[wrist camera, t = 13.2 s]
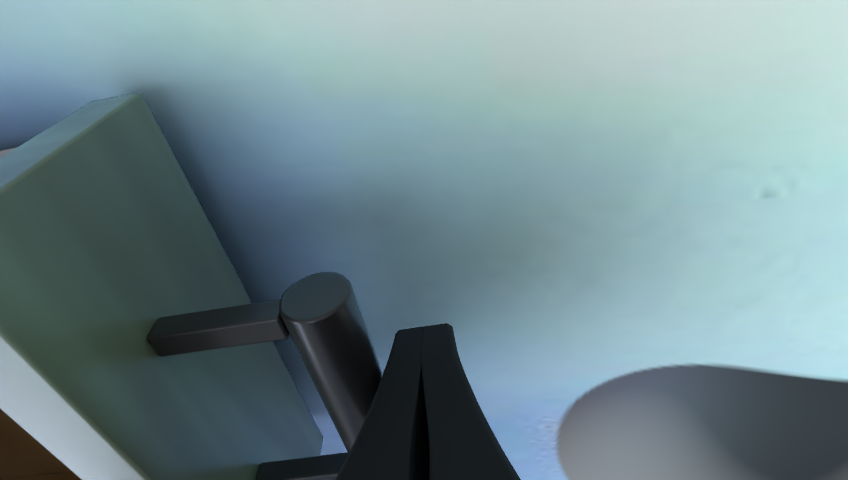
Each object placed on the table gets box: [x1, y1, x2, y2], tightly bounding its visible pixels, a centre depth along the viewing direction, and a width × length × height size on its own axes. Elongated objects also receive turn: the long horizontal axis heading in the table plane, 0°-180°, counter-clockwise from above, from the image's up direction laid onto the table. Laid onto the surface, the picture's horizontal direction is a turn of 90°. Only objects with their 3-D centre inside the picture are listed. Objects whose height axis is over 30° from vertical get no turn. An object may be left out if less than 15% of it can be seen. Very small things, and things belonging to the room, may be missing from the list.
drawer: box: [0, 92, 383, 480], centre depth 12 cm, size 18×13×6 cm
